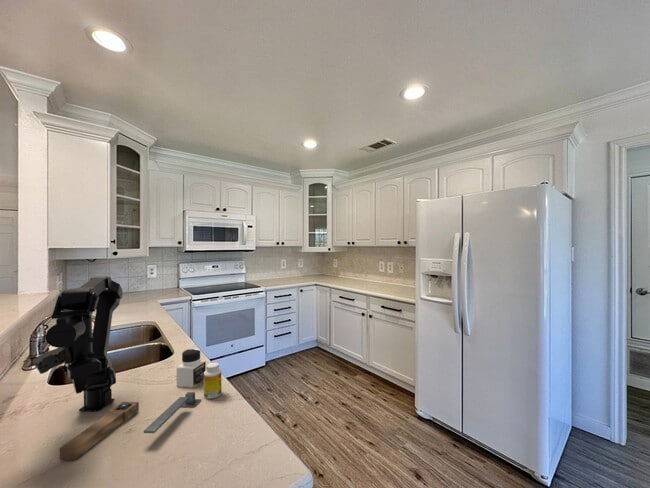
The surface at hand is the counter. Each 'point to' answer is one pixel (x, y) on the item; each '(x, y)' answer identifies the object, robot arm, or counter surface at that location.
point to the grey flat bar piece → (173, 411)
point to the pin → (123, 406)
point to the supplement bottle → (212, 381)
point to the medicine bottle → (191, 369)
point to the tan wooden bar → (97, 431)
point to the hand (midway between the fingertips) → (78, 392)
